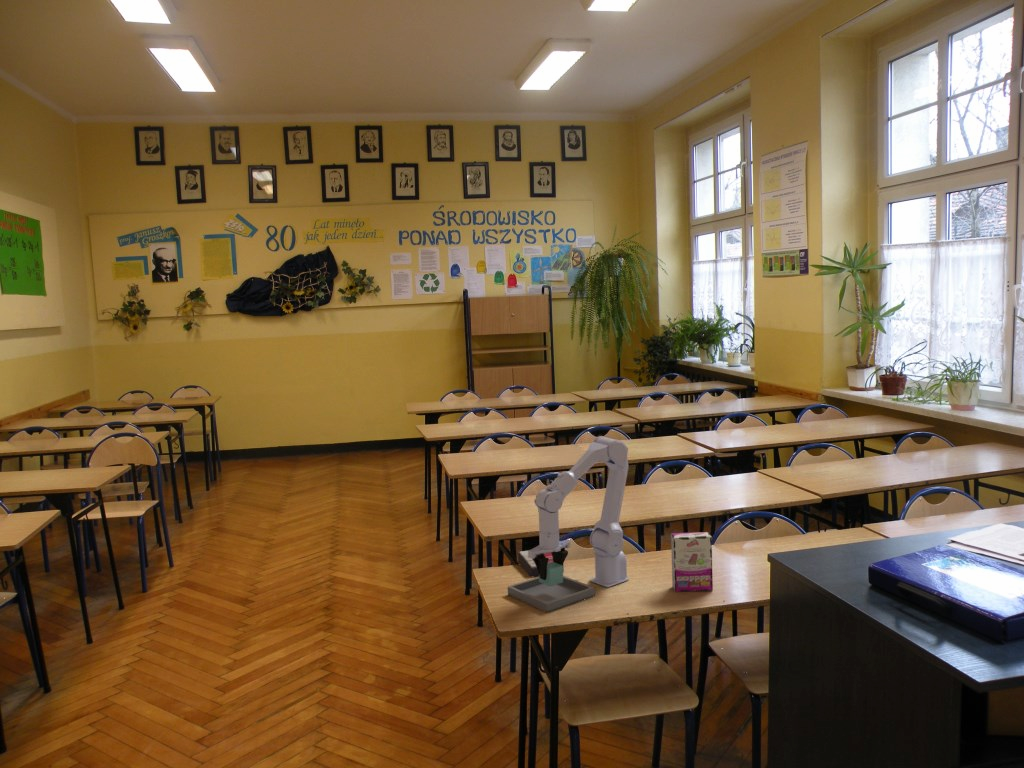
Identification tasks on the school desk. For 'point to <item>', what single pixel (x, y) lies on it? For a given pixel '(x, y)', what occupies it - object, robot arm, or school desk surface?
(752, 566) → the school desk surface
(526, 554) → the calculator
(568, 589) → the charcoal tray
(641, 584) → the school desk surface
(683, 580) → the candy bar box
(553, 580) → the teal cube
